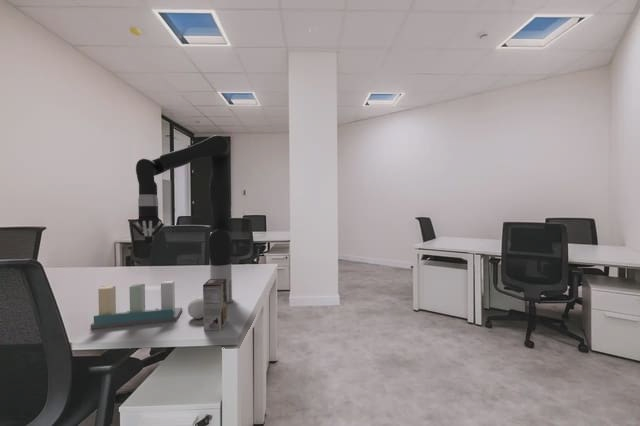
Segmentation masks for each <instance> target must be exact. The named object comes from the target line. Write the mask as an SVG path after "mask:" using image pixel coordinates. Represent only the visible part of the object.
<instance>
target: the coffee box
mask: <svg viewBox="0 0 640 426" xmlns="http://www.w3.org/2000/svg"><path fill="white" fill-rule="evenodd" d="M202 288H203V289H202V291H203V293H202V296H203V297H202V298H203V304H204V317H203V331H205V332H207V331H221V330H223V328H224V327H225V326H226V323H227V322H228V303H227V286H226V279H210V278H209V279H208V280H207V281H206V282H205V283H204V284H203V285H202Z"/></svg>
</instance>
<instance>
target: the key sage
mask: <svg viewBox="0 0 640 426" xmlns="http://www.w3.org/2000/svg"><path fill="white" fill-rule="evenodd" d="M128 288H129V311H130V313H133V312H145V311H146V283H137V284H135V283H134V284H132V285H130V286H129V287H128Z"/></svg>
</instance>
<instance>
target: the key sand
mask: <svg viewBox="0 0 640 426" xmlns="http://www.w3.org/2000/svg"><path fill="white" fill-rule="evenodd" d="M116 298H117V297H116V285H107V286H102V287H100V288H98V315H109V314H116V313H117V305H116V304H117V301H116V300H117V299H116Z"/></svg>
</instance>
